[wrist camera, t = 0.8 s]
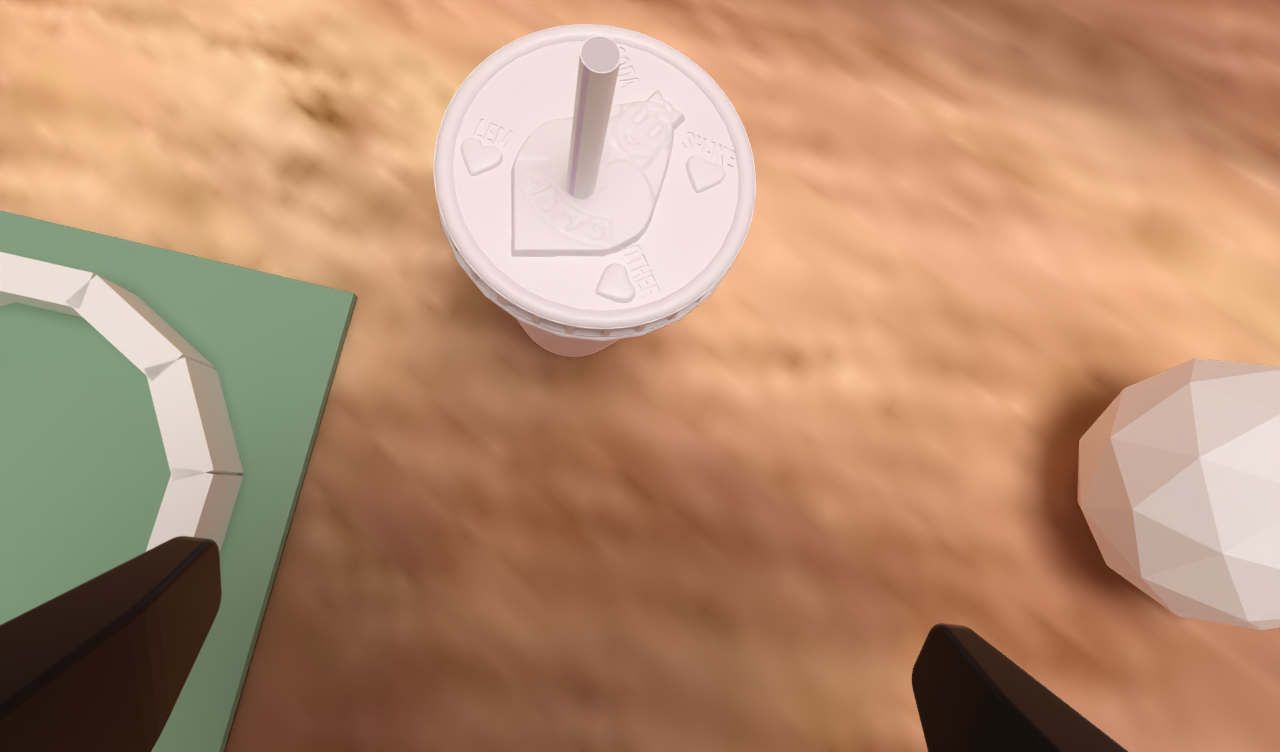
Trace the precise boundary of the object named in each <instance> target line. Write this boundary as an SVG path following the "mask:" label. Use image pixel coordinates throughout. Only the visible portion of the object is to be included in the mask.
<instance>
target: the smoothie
mask: <svg viewBox="0 0 1280 752" xmlns="http://www.w3.org/2000/svg"><path fill="white" fill-rule="evenodd" d="M434 184H435V190H436V197H437V201H438V206H439V214H440V221H441V226H442V228H443V230H444V233H445V235H446V237H447V239H448V242H449V244H450V246H451V249H452V251H453V253H454V255H455V258H456V260H457V262H458V264H459V265H460V266H461V267H462V269H463V270H464V271H465V272H466V273H467V275H468V276H469V277H470V278H471V280H472V281H473V282H474V283H475V285H476V286H477V287H478V288H479V289H480V291H481V292H482V293H483V294H484V296H486V297H487V298H488V299H490V300H491V301H493V302H494V303H495V304H497V305H498V306H499V307H501V308H502V309H504V310H505V311H506V312H508V313H509V314H511V315H512V316H513V317H515V318H516V319H517V321H518V322H519V323H520V325H521V326H522V328H523V329H524V330H525V332H526V333H527V334H528V336H529V337H530V338H531V339H532V340H533V341H534V342H535V343H536V344H538V345H539V346H540V347H542V348H543V349H545V350H547V351H549V352H551V353H554V354H557V355H561V356H566V357H583V356H588V355H592V354H594V353H597V352H599V351H601V350H603V349H605V348H606V347H608V346H610V345H611V344H613V343H614V342H616V341H618V340H619V339H623V338H631V337H638V336H643V335H646V334H648V333H650V332H653V331H655V330H657V329H660V328H662V327H665V326H667V325H669V324H672V323H674V322H676V321H679V320H680V319H682V318H683V317H684V316H685V315H687V314H688V313H689V312H690V311H692V310H693V309H694V308H696V307H697V306H698V305H699V304H701V303H702V302H703V301H704V300H706V299H707V298H708V297H709V296H711V294H712V293H713V291H714V290H715V289H716V287H717V286H718V284H719V283H720V282H721V280H722V279H723V277H724V276H725V275H726V273H727V272H728V270H729V269H730V268H731V266H732V265H733V262H734V260H735V258H736V256H737V255H738V253H739V251H740V249H741V247H742V245H743V243H744V241H745V238H746V236H747V233H748V230H749V227H750V224H751V220H752V216H753V211H754V205H755V195H756V174H755V165H754V159H753V154H752V150H751V146H750V142H749V139H748V136H747V133H746V131H745V128H744V126H743V124H742V121H741V119H740V117H739V115H738V114H737V112H736V110H735V108H734V106H733V105H732V103H731V102H730V100H729V99H728V97H727V96H726V94H725V93H724V92H723V91H722V89H721V88H720V87H719V86H718V85H717V83H716V82H715V81H714V80H713V79H712V78H711V77H710V76H709V75H708V74H707V73H706V72H705V71H704V70H703V69H702V68H701V67H699V66H698V65H697V64H696V63H695V62H693V61H692V60H691V59H689V58H688V57H687V56H685V55H684V54H682V53H681V52H679V51H677V50H676V49H674V48H672V47H671V46H669V45H667V44H665V43H663V42H661V41H659V40H657V39H655V38H652V37H649V36H647V35H644V34H642V33H638V32H635V31H631V30H628V29H624V28H618V27H613V26H606V25H596V24H577V25H565V26H559V27H553V28H548V29H545V30H541V31H537V32H534V33H531V34H529V35H526V36H523V37H521V38H519V39H517V40H515V41H513V42H511V43H509V44H507V45H505V46H504V47H502V48H500V49H499V50H497V51H496V52H494V53H493V54H491V55H490V56H489V57H488V58H486V59H485V60H484V61H482V62H481V63H480V64H479V65H478V66H477V67H476V68H475V69H474V70H473V71H472V72H471V73H470V74H469V76H468V77H467V78H466V79H465V80H464V81H463V83H462V84H461V85H460V87H459V88H458V90H457V91H456V93H455V94H454V96H453V98H452V100H451V101H450V103H449V105H448V107H447V109H446V112H445V114H444V117H443V119H442V121H441V125H440V128H439V132H438V135H437V140H436V146H435V152H434Z"/></svg>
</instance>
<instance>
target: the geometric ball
mask: <svg viewBox="0 0 1280 752" xmlns="http://www.w3.org/2000/svg"><path fill="white" fill-rule="evenodd" d="M1077 501H1078V503H1079V506H1080V508H1081V510H1082V512H1083V514H1084V517H1085V519H1086V521H1087V523H1088V525H1089V528H1090V530H1091V532H1092V534H1093V536H1094V539H1095V541H1096V543H1097V545H1098V547H1099V550H1100V552H1101V554H1102V556H1103V558H1104V560H1105V563H1106V565H1107V566H1108V567H1110V568H1111V569H1112V570H1114V571H1115V572H1116V573H1118V574H1119V575H1121V576H1122V577H1123V578H1125V579H1126V580H1128V581H1129V582H1130V583H1132V584H1133V585H1134V586H1136V587H1137V588H1139V589H1140V590H1141V591H1143V592H1144V593H1146V594H1147V595H1148V596H1150V597H1151V598H1152V599H1154V600H1155V601H1157V602H1158V603H1159V604H1161V605H1162V606H1164V607H1165V608H1166V609H1168V610H1169V611H1170V612H1172V613H1173V614H1175V615H1176V616H1181V617H1187V618H1193V619H1199V620H1205V621H1211V622H1217V623H1223V624H1229V625H1235V626H1241V627H1247V628H1252V629H1258V630H1267V629H1272V628H1277V627H1280V366H1272V365H1262V364H1251V363H1241V362H1231V361H1220V360H1210V359H1199V358H1195V359H1192V360H1190V361H1188V362H1185V363H1183V364H1181V365H1178V366H1176V367H1173V368H1171V369H1169V370H1166V371H1164V372H1162V373H1159V374H1157V375H1154V376H1152V377H1150V378H1147V379H1145V380H1143V381H1140V382H1138V383H1135V384H1133V385H1131V386H1128V387H1126V388H1124V389H1123V390H1122V391H1121V392H1120V393H1119V395H1118V396H1117V397H1116V398H1115V399H1114V400H1113V402H1112V403H1111V404H1110V405H1109V406H1108V407H1107V408H1106V410H1105V411H1104V412H1103V413H1102V414H1101V415H1100V417H1099V418H1098V419H1097V420H1096V421H1095V422H1094V424H1093V425H1092V426H1091V427H1090V428H1089V429H1088V430H1087V432H1086V433H1085V434H1084V435H1083V436H1082V437H1081V439H1080V440H1079V466H1078V500H1077Z"/></svg>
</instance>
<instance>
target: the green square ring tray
mask: <svg viewBox="0 0 1280 752" xmlns="http://www.w3.org/2000/svg"><path fill="white" fill-rule="evenodd" d="M356 299H357V296H356V295H355V294H354V293H351V292H346V291H342V290H338V289H333V288H329V287H325V286H321V285H316V284H312V283H308V282H303V281H299V280H295V279H291V278H286V277H282V276H278V275H274V274H269V273H265V272H261V271H256V270H252V269H248V268H244V267H239V266H235V265H231V264H227V263H222V262H218V261H214V260H209V259H205V258H201V257H197V256H192V255H188V254H184V253H179V252H175V251H171V250H167V249H162V248H158V247H154V246H150V245H145V244H141V243H137V242H132V241H128V240H124V239H120V238H115V237H111V236H107V235H103V234H98V233H94V232H90V231H85V230H81V229H77V228H73V227H68V226H64V225H60V224H55V223H51V222H47V221H43V220H38V219H34V218H30V217H26V216H21V215H17V214H13V213H8V212H4V211H0V625H1V624H3V623H5V622H7V621H9V620H11V619H13V618H15V617H17V616H19V615H21V614H23V613H25V612H27V611H29V610H31V609H33V608H35V607H37V606H39V605H41V604H43V603H45V602H47V601H49V600H51V599H53V598H55V597H57V596H59V595H61V594H63V593H65V592H67V591H69V590H71V589H73V588H75V587H77V586H79V585H81V584H83V583H84V582H86V581H88V580H90V579H92V578H94V577H96V576H98V575H100V574H102V573H104V572H106V571H108V570H110V569H112V568H114V567H116V566H118V565H120V564H122V563H124V562H126V561H128V560H130V559H132V558H134V557H136V556H138V555H140V554H142V553H144V552H146V551H148V550H150V549H152V548H154V547H156V546H158V545H160V544H162V543H164V542H166V541H168V540H170V539H172V538H175V537H178V536H189V537H198V538H207V539H212V540H213V541H215V542H216V543H217V545H218V548H219V556H220V573H221V589H222V597H221V603H220V607H219V611H218V613H217V616H216V618H215V620H214V622H213V625H212V627H211V629H210V631H209V633H208V635H207V637H206V640H205V642H204V644H203V646H202V648H201V650H200V652H199V655H198V657H197V659H196V661H195V663H194V665H193V668H192V670H191V672H190V674H189V676H188V678H187V680H186V683H185V685H184V687H183V689H182V691H181V693H180V695H179V698H178V700H177V702H176V704H175V706H174V708H173V711H172V713H171V715H170V717H169V719H168V721H167V723H166V725H165V727H164V729H163V731H162V733H161V735H160V737H159V739H158V741H157V742H156V744H155V746H154V748H153V749H152V751H151V752H224V749H225V746H226V743H227V739H228V736H229V732H230V729H231V726H232V722H233V719H234V715H235V712H236V708H237V705H238V702H239V698H240V695H241V691H242V688H243V685H244V681H245V678H246V674H247V671H248V667H249V664H250V661H251V657H252V654H253V650H254V647H255V644H256V640H257V637H258V633H259V630H260V626H261V623H262V620H263V616H264V613H265V609H266V606H267V603H268V599H269V596H270V592H271V589H272V585H273V582H274V579H275V575H276V572H277V568H278V565H279V562H280V558H281V555H282V551H283V548H284V544H285V541H286V538H287V534H288V531H289V527H290V524H291V521H292V517H293V514H294V510H295V507H296V503H297V500H298V497H299V493H300V490H301V486H302V483H303V480H304V476H305V473H306V469H307V466H308V462H309V459H310V456H311V452H312V449H313V445H314V442H315V439H316V435H317V432H318V428H319V425H320V421H321V418H322V415H323V411H324V408H325V404H326V401H327V398H328V394H329V391H330V387H331V384H332V380H333V377H334V374H335V370H336V367H337V363H338V360H339V357H340V353H341V350H342V346H343V343H344V340H345V336H346V333H347V329H348V326H349V322H350V319H351V316H352V312H353V309H354V305H355V302H356Z"/></svg>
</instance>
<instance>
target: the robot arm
mask: <svg viewBox="0 0 1280 752" xmlns="http://www.w3.org/2000/svg"><path fill="white" fill-rule="evenodd" d="M221 597H222V589H221V573H220V556H219V548H218V545H217V543H216V542H215V541H213V540H212V539H207V538H198V537H189V536H178V537H175V538H172V539H170V540H168V541H166V542H164V543H162V544H160V545H158V546H156V547H154V548H152V549H150V550H148V551H146V552H144V553H142V554H140V555H138V556H136V557H134V558H132V559H130V560H128V561H126V562H124V563H122V564H120V565H118V566H116V567H114V568H112V569H110V570H108V571H106V572H104V573H102V574H100V575H98V576H96V577H94V578H92V579H90V580H88V581H86V582H84V583H83V584H81V585H79V586H77V587H75V588H73V589H71V590H69V591H67V592H65V593H63V594H61V595H59V596H57V597H55V598H53V599H51V600H49V601H47V602H45V603H43V604H41V605H39V606H37V607H35V608H33V609H31V610H29V611H27V612H25V613H23V614H21V615H19V616H17V617H15V618H13V619H11V620H9V621H7V622H5V623H3V624H1V625H0V752H151V751H152V749H153V748H154V746H155V744H156V742H157V741H158V739H159V737H160V735H161V733H162V731H163V729H164V727H165V725H166V723H167V721H168V719H169V717H170V715H171V713H172V711H173V708H174V706H175V704H176V702H177V700H178V698H179V695H180V693H181V691H182V689H183V687H184V685H185V683H186V680H187V678H188V676H189V674H190V672H191V670H192V668H193V665H194V663H195V661H196V659H197V657H198V655H199V652H200V650H201V648H202V646H203V644H204V642H205V640H206V637H207V635H208V633H209V631H210V629H211V627H212V625H213V622H214V620H215V618H216V616H217V613H218V611H219V607H220V603H221ZM912 687H913V692H914V696H915V700H916V704H917V708H918V712H919V716H920V720H921V724H922V728H923V732H924V736H925V740H926V744H927V749H928V752H1128V751H1127V750H1126V749H1124V748H1123V747H1122V746H1120V745H1119V744H1118V743H1117V742H1115V741H1114V740H1113V739H1111V738H1110V737H1109V736H1108V735H1106V734H1105V733H1104V732H1102V731H1101V730H1100V729H1099V728H1097V727H1096V726H1095V725H1093V724H1092V723H1091V722H1090V721H1088V720H1087V719H1086V718H1084V717H1083V716H1082V715H1081V714H1079V713H1078V712H1077V711H1075V710H1074V709H1073V708H1072V707H1070V706H1069V705H1068V704H1066V703H1065V702H1064V701H1063V700H1061V699H1060V698H1059V697H1057V696H1056V695H1055V694H1054V693H1052V692H1051V691H1050V690H1048V689H1047V688H1046V687H1045V686H1043V685H1042V684H1041V683H1039V682H1038V681H1037V680H1036V679H1034V678H1033V677H1032V676H1030V675H1029V674H1028V673H1027V672H1025V671H1024V670H1023V669H1021V668H1020V667H1019V666H1018V665H1016V664H1015V663H1014V662H1012V661H1011V660H1010V659H1009V658H1007V657H1006V656H1005V655H1003V654H1002V653H1001V652H1000V651H998V650H997V649H996V648H994V647H993V646H992V645H991V644H989V643H988V642H987V641H985V640H984V639H983V638H982V637H980V636H979V635H978V634H976V633H975V632H974V631H973V630H971V629H970V628H968V627H965V626H961V625H952V624H944V623H940V624H936V625H935V626H933V627H932V628H931V630H930V632H929V634H928V636H927V638H926V640H925V643H924V645H923V647H922V649H921V652H920V654H919V656H918V658H917V660H916V663H915V665H914V668H913V672H912Z"/></svg>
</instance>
